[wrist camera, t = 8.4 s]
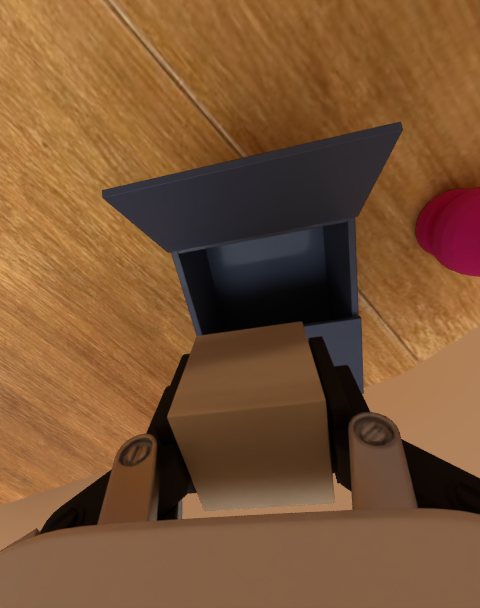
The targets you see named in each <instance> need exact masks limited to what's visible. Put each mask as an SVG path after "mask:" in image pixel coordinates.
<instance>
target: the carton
mask: <svg viewBox="0 0 480 608" xmlns="http://www.w3.org/2000/svg"><path fill="white" fill-rule="evenodd" d="M171 253H172V257H173V260H174V263H175V267H176V270H177V273H178V276H179V280H180V283H181V286H182V289H183V293H184V296H185V299H186V302H187V306H188V309H189V312H190V315H191V319H192V322H193V325H194V328H195V332H196V335H197V336H201V335H208V334H216V333H223V332H230V331H237V330H244V329H251V328H258V327H265V326H272V325H279V324H286V323H294V322H302V323H303V326H304V330H305V333H306V336H307V340H308V341H309V338H312V337H320V336H322V337H323V339H324V342H325V344H326V347H327V349H328V352H329V354H330V357H331V360H332V362H333V365H334V366H341V365H348V366H349V368H350V370H351V372H352V374H353V376H354V378H355V380H356V383H357V385H358V387H359V389H360V391H361V393H362V394H363V393H364V390H363V359H362V327H361V317H360V316H359V314H358V286H357V258H356V230H355V217H352V218H347V219H341V220H336V221H331V222H326V223H321V224H315V225H310V226H305V227H300V228H294V229H289V230H284V231H279V232H274V233H268V234H263V235H258V236H253V237H248V238H242V239H237V240H232V241H227V242H221V243H216V244H211V245H206V246H201V247H195V248H190V249H185V250H180V251H174V252H171Z"/></svg>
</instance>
